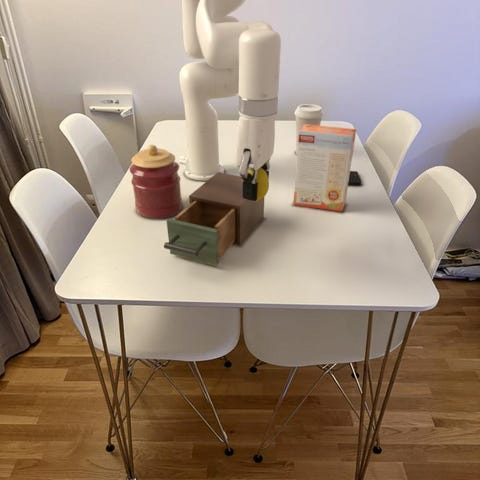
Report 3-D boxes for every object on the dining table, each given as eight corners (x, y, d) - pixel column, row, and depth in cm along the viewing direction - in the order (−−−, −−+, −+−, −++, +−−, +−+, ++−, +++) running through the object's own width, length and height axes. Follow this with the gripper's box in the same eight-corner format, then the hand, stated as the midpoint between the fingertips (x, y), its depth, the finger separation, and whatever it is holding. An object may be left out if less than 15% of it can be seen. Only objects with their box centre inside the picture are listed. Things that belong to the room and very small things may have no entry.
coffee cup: (323, 151, 162) (328, 106, 152) (311, 160, 156) (316, 113, 146) (299, 146, 166) (303, 101, 156) (286, 154, 160) (289, 108, 150)
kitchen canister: (127, 215, 126) (116, 150, 115) (150, 195, 135) (141, 134, 124) (169, 223, 123) (162, 157, 111) (190, 202, 132) (185, 139, 120)
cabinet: (239, 246, 114) (239, 206, 107) (191, 234, 118) (188, 195, 111) (263, 218, 125) (265, 181, 118) (218, 208, 129) (217, 172, 122)
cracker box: (345, 203, 131) (357, 128, 118) (341, 213, 127) (354, 135, 113) (297, 196, 135) (304, 122, 121) (292, 205, 130) (298, 129, 117)
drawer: (206, 278, 102) (204, 243, 96) (158, 265, 106) (153, 231, 100) (242, 236, 115) (242, 204, 110) (199, 226, 119) (197, 194, 114)
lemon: (266, 208, 99) (267, 172, 94) (240, 206, 100) (241, 170, 95) (269, 197, 103) (271, 162, 98) (245, 194, 104) (245, 160, 99)
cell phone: (300, 172, 148) (300, 169, 147) (357, 173, 147) (357, 171, 146) (301, 184, 141) (301, 181, 140) (360, 185, 140) (361, 182, 139)
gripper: (257, 91, 95) (254, 175, 107) (221, 115, 84) (223, 206, 96) (291, 96, 93) (285, 180, 105) (259, 121, 81) (256, 214, 93)
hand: (255, 192), depth 100 cm, fingers closed on lemon, 5 cm apart
